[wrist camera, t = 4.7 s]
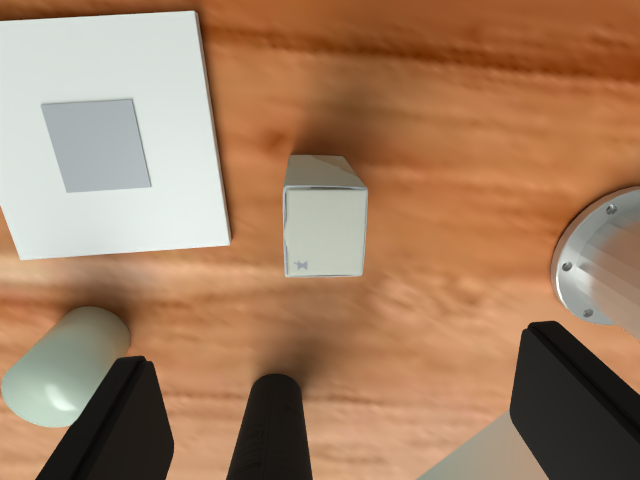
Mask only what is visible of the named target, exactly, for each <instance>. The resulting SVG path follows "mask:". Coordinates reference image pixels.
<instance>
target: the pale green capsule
mask: <svg viewBox="0 0 640 480" xmlns="http://www.w3.org/2000/svg"><path fill="white" fill-rule="evenodd" d="M129 346H130V333H129V331H128V328H127V327H126V325H125V324H124V322H123V321H122V320H121V319H120V318H119V317H118V316H116V315H115V314H113V313H112V312H110V311H108V310H105V309H102V308H99V307H92V306H85V307H79V308H75V309H73V310H71V311H69V312H68V313H67V314H65V315H64V316H63V317H62V318H61V319H60V320H59V321H58V322H57V323H56V324H55V325H54V326H53V327H52V328H51V329H50V330H49V331H48V332H47V333H46V334H45V335H44V336H43V337H42V338H41V339H40V340H39V341H38V342H37V343H36V344H35V345H34V346H33V347H32V348H31V349H30V350H29V351H28V352H27V353H26V354H25V355H24V356H23V357H22V358H21V359H20V360H18V361H17V362H16V363H15V364H14V365H13V366H12V367H11V368H10V369H9V370H8V371H7V373H6V374H5V375H4V377H3V379H2V383H1V392H2V396H3V399H4V401H5V402H6V404H7V405H8V407H9V408H10V409H11V410H12V411H13V412H14V413H15V414H17V415H18V416H19V417H21V418H23V419H24V420H26V421H28V422H31V423H33V424H36V425H40V426H45V427H65V426H69V425H72V424H73V423H74V421H76V420H77V419H78V417H79V416H80V414H81V413H82V411H83V410H84V408H85V406H86V405H87V403H88V402H89V400H90V399H91V397H92V396H93V394H94V393H95V391H96V390H97V388H98V386H99V385H100V383H101V382H102V380H103V379H104V377H105V376H106V374H107V373H108V371H109V369H110V368H111V366H112V365H113V363H114V362H115V361H116V359H118V358H121V357H124V356H125V354H126V353H127V351H128V349H129Z"/></svg>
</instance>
